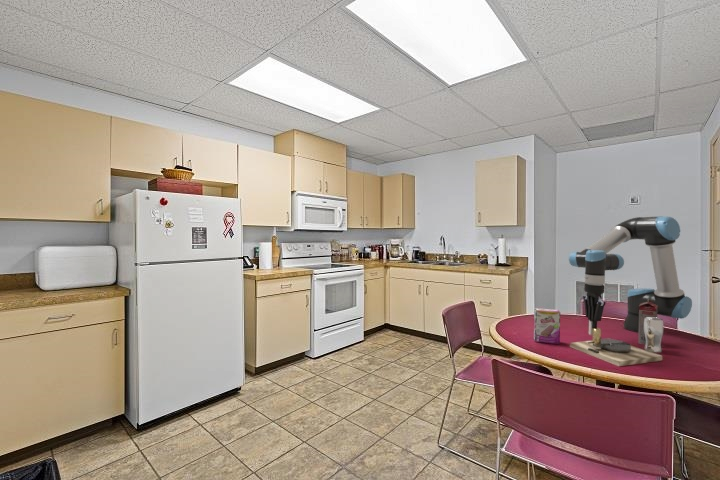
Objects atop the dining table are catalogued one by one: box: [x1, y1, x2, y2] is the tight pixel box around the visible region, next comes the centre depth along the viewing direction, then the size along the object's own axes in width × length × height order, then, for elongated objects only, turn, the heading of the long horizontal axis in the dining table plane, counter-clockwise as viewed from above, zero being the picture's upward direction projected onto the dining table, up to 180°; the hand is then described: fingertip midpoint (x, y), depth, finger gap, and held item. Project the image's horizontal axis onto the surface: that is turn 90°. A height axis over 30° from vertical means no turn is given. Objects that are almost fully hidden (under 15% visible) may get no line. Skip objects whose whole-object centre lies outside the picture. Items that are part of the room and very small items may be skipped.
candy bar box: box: [533, 307, 561, 345], centre depth 170 cm, size 11×5×16 cm, turn 71°
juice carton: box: [638, 298, 658, 346], centre depth 167 cm, size 7×7×22 cm
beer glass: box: [644, 317, 664, 354], centre depth 157 cm, size 7×7×15 cm
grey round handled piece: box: [588, 327, 632, 353], centre depth 154 cm, size 18×12×9 cm, turn 95°
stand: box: [569, 339, 663, 367], centre depth 154 cm, size 24×24×3 cm
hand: (592, 334), depth 156 cm, fingers closed
